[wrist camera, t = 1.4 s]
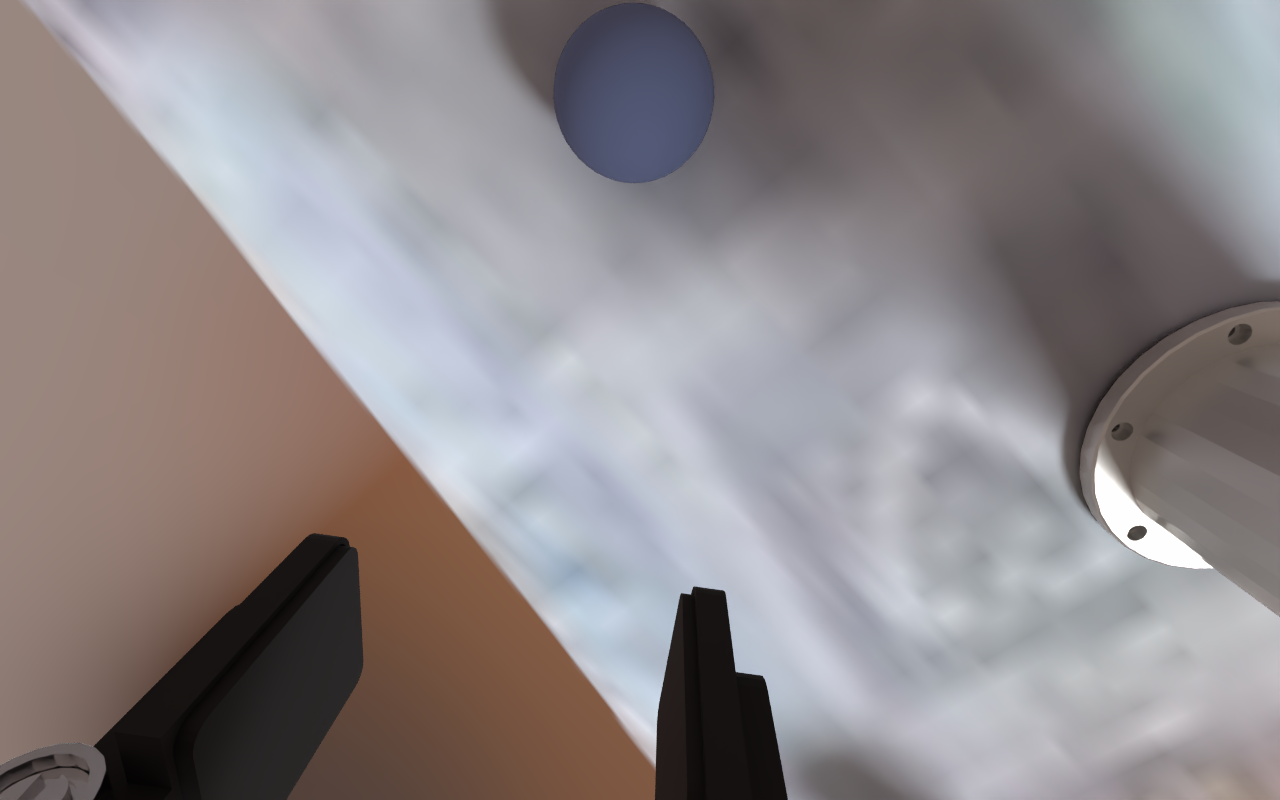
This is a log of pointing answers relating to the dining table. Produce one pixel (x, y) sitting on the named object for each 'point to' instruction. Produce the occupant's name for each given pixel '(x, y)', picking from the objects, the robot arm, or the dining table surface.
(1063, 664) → the dining table surface
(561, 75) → the dark blue ball
